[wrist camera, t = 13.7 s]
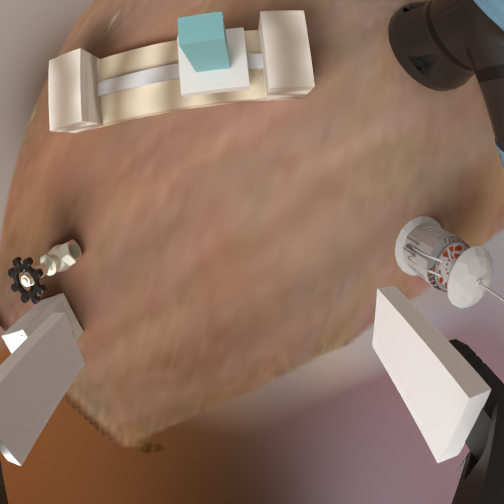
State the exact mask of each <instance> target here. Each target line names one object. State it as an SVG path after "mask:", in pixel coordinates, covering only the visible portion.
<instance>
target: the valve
mask: <svg viewBox="0 0 504 504" xmlns="http://www.w3.org/2000/svg"><path fill="white" fill-rule="evenodd" d="M80 259H82V254H81V249H80V247H79V245H78V244H77V243H76V242H75V241H74V240H73V239H72V240H70V241H68V242H66V243H65V244H59V245H56V246H54V247H53V248H51V250H50V251H49V253H47V254H46V255H44V256H42V257H41V258H40V265H38V266H37V267H35V268H32V267H31V264H32V263H33V260H32V258H31V257H28V258H26V259H24V261H23V264H21V263H20V260H22V259H21V258H20V257H17V258H15V259H13V265H14V266H15V268H14V267H13V268H11V269H9V270H8V275H9V276H10V277H13V278H14V282H15V283H14V284H12V285H11V289H12V290H13V291H14V292H16V291H18V290H19V291H20V293H21V294H22V296H21V300H22V302H24V303H26V302H27V301H28V300H30V298H31V300H32V302H33V303H34V304H37V303H38V302H40V301H41V297H40V296H39V297H38V296H37V293H39V294H41V295H42V294H43V293H44V292H46V290H47V288H46V286H45V285H44V284H43V285H40V283H39V279H40V278H42V277H43V276H45V275H46V274H47V275H48V276H51V275H54V274H55V273H56V272H63V271H66V270H67V269H69V268H70V266H71V265H72V264H74V263H76V262H77V261H79V260H80ZM20 272H24V275H23V276H22V277H21V281H22V284H23V285H24V286H25V287H28V286H31V289H30V290H29V291H26V290H25V289H24V288H23V287H22V285H21V284H20V281H19V273H20ZM29 297H30V298H29Z"/></svg>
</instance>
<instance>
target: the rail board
mask: <svg viewBox="0 0 504 504" xmlns="http://www.w3.org/2000/svg"><path fill="white" fill-rule="evenodd" d="M244 37H245V46H246V56H247V65H248V75H249V84H250V89H249V90H238V91H229V92H220V93H212V94H204V95H197V96H191V97H183V96H182V95H181V88H180V75H179V60H178V43H177V40H174V41H169V42H164V43H159V44H154V45H150V46H146V47H142V48H138V49H134V50H130V51H126V52H122V53H119V54H115V55H112V56H109V57H105V58H102V59H99V58H97V57H95V56H94V55H92V54H90V53H88V52H87V51H85V50H83V49H81V48H79V49H76V50H74V51H71V52H69V53H66V54H64V55H61V56H59V57H56V58H54V59H52V60H50V61H49V121H50V131H57V132H72V133H82V132H85V131H89V130H92V129H96V128H100V127H104V126H108V125H112V124H116V123H120V122H125V121H129V120H133V119H138V118H143V117H148V116H153V115H158V114H163V113H169V112H175V111H181V110H187V109H194V108H201V107H208V106H216V105H224V104H233V103H243V102H255V101H268V100H286V99H303V98H304V97H305V96H306V95H307V94H308V93H309V92H310V91H311V90H312V89H313V88H314V87H315V84H314V76H313V68H312V60H311V53H310V46H309V40H308V33H307V27H306V21H305V15H304V11H296V10H288V11H260V18H259V28H258V30H249V31H244Z"/></svg>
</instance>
